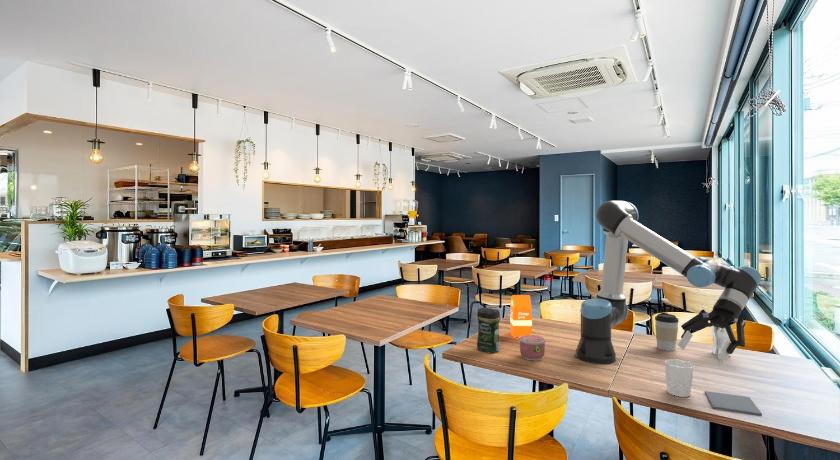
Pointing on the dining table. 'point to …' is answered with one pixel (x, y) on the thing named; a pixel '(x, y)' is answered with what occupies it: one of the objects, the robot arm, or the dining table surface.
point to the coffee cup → (666, 331)
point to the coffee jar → (488, 330)
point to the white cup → (678, 377)
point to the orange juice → (520, 316)
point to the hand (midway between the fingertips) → (699, 353)
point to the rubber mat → (732, 403)
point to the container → (532, 347)
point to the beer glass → (719, 339)
